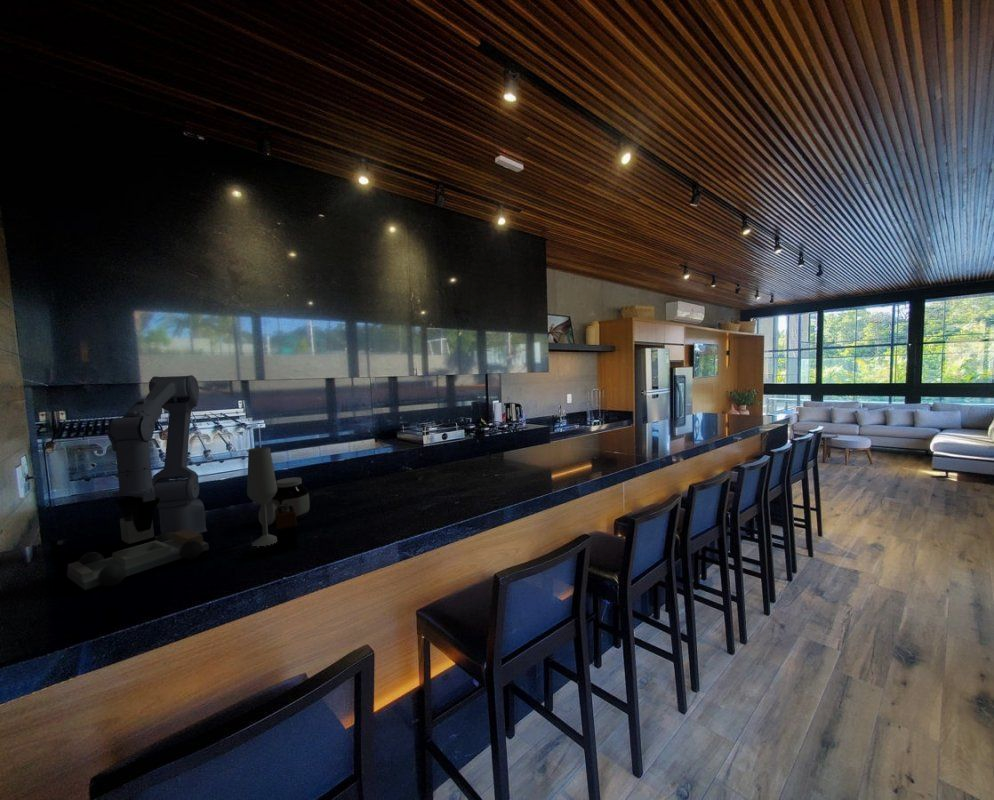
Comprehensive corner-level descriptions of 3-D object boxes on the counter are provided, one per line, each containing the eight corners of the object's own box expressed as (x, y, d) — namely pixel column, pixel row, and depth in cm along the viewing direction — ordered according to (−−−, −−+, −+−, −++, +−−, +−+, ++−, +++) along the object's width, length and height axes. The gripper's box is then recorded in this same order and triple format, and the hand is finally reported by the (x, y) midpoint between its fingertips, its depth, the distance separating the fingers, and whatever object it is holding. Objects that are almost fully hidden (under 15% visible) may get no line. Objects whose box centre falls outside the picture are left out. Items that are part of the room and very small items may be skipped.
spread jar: (314, 514, 127) (311, 476, 126) (292, 527, 116) (289, 486, 115) (277, 514, 128) (275, 477, 127) (252, 527, 117) (249, 486, 116)
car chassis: (184, 541, 108) (183, 526, 108) (212, 552, 100) (211, 536, 99) (65, 577, 89) (63, 559, 89) (87, 594, 81) (85, 574, 81)
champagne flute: (253, 539, 107) (246, 448, 106) (282, 535, 110) (276, 445, 108) (248, 549, 101) (240, 452, 100) (278, 544, 103) (272, 449, 102)
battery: (296, 539, 106) (293, 501, 105) (298, 548, 100) (295, 508, 99) (277, 543, 104) (274, 504, 103) (278, 552, 98) (275, 511, 97)
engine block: (146, 533, 97) (144, 509, 96) (154, 536, 94) (151, 512, 94) (121, 540, 93) (119, 515, 93) (129, 543, 91) (126, 518, 90)
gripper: (100, 470, 94) (105, 529, 94) (123, 476, 86) (129, 540, 87) (139, 464, 100) (144, 519, 100) (164, 469, 92) (169, 529, 93)
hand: (139, 528), depth 94 cm, fingers closed on engine block, 4 cm apart
